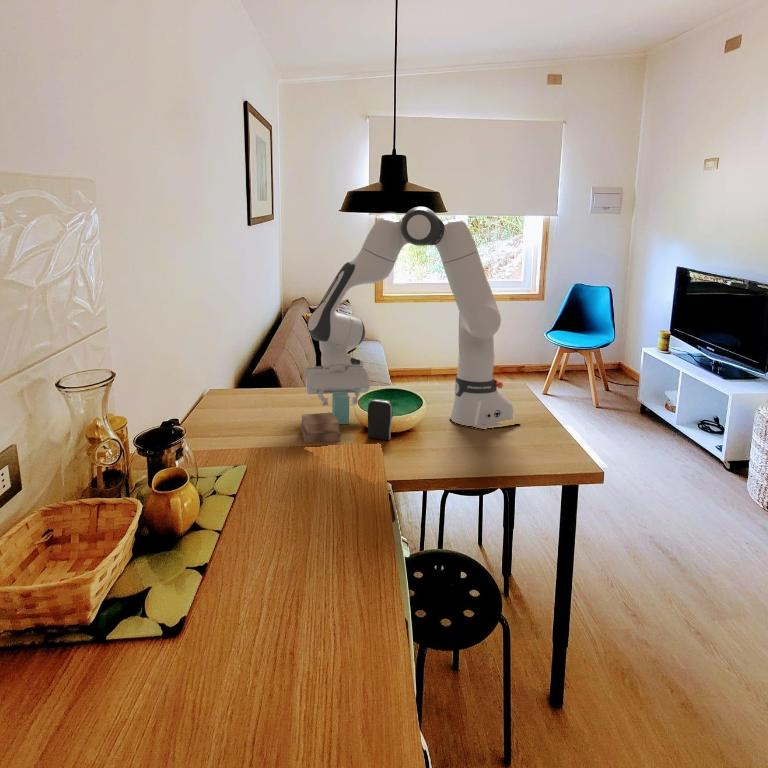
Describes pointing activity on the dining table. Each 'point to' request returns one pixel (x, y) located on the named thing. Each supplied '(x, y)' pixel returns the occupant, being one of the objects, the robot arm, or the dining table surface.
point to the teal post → (341, 407)
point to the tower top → (320, 423)
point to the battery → (380, 419)
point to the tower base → (320, 436)
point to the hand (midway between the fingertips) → (340, 404)
